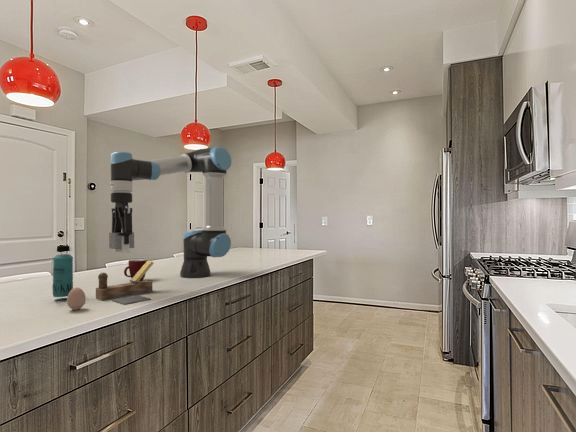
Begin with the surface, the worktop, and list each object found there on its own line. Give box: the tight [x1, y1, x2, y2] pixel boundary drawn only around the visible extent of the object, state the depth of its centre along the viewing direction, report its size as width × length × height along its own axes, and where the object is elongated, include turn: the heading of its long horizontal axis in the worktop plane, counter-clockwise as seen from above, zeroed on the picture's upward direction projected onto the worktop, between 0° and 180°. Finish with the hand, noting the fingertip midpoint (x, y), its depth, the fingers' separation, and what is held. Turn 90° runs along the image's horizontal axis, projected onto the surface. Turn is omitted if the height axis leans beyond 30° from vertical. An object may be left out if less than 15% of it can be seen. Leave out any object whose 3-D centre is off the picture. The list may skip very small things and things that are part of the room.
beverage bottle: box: [52, 244, 74, 298], centre depth 133 cm, size 6×7×20 cm
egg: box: [66, 287, 87, 311], centre depth 118 cm, size 5×5×7 cm
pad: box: [111, 294, 151, 306], centre depth 131 cm, size 10×9×1 cm
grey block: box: [108, 231, 135, 250], centre depth 138 cm, size 7×6×6 cm
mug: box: [123, 258, 148, 282], centre depth 168 cm, size 10×8×10 cm
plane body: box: [95, 272, 153, 301], centre depth 140 cm, size 20×5×10 cm, turn 141°
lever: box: [129, 260, 154, 284], centre depth 145 cm, size 1×4×11 cm
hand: (121, 252), depth 138 cm, fingers closed on grey block, 6 cm apart
